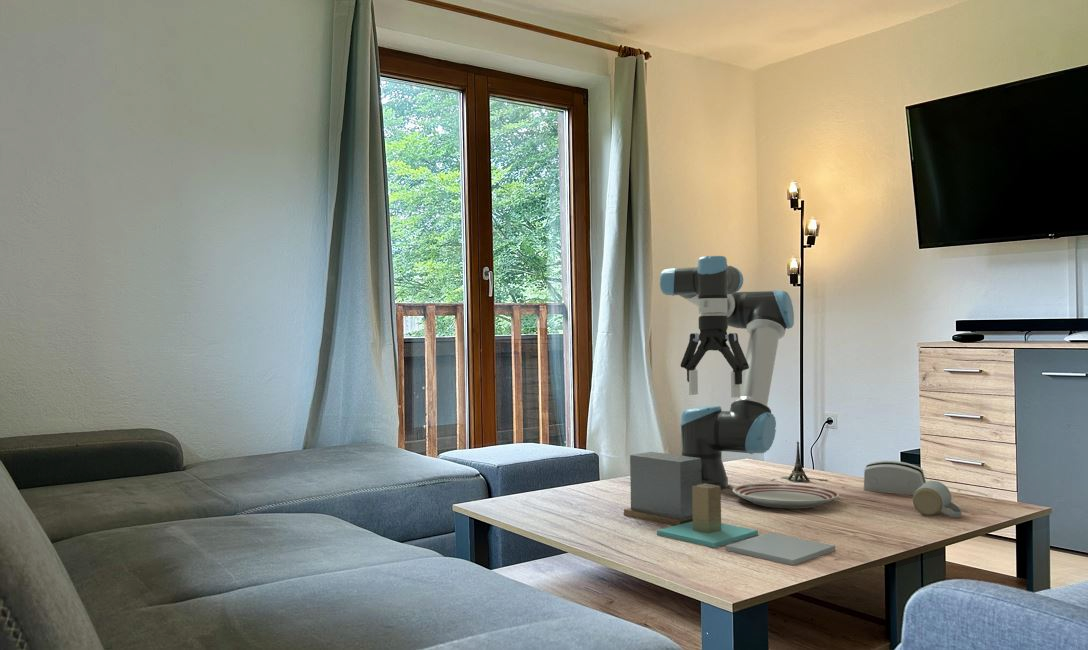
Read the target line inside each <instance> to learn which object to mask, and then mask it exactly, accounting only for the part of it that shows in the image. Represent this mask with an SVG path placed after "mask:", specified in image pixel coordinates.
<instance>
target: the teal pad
mask: <svg viewBox="0 0 1088 650" xmlns="http://www.w3.org/2000/svg"><path fill="white" fill-rule="evenodd" d="M656 535H657V536H662V537H666V538H669V539H675V540H679V541H683V542H686V543H687V542H688V543H693V544H697V545H701V546H706V547H711V548H718V547H721V546H726V545H729V544H732V543H736V542H739V541H743V540H746V539H749V538H753V537H756V536H759V530H758V529H752V528H747V527H743V526H737V525H734V524H733V525H731V524H728V523H724V522H723V523H722V522H721V530H720V531H717V532H713V533H709V534H708V533H703V532H699V531H694V530H693V521H692V522H688V523H684V524H680V525H676V526H673V525H671V526H668V527H665V528H661V529H657V530H656Z"/></svg>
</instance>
